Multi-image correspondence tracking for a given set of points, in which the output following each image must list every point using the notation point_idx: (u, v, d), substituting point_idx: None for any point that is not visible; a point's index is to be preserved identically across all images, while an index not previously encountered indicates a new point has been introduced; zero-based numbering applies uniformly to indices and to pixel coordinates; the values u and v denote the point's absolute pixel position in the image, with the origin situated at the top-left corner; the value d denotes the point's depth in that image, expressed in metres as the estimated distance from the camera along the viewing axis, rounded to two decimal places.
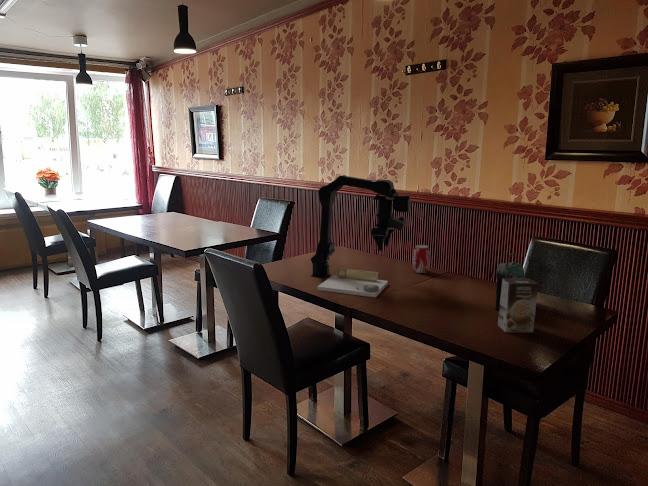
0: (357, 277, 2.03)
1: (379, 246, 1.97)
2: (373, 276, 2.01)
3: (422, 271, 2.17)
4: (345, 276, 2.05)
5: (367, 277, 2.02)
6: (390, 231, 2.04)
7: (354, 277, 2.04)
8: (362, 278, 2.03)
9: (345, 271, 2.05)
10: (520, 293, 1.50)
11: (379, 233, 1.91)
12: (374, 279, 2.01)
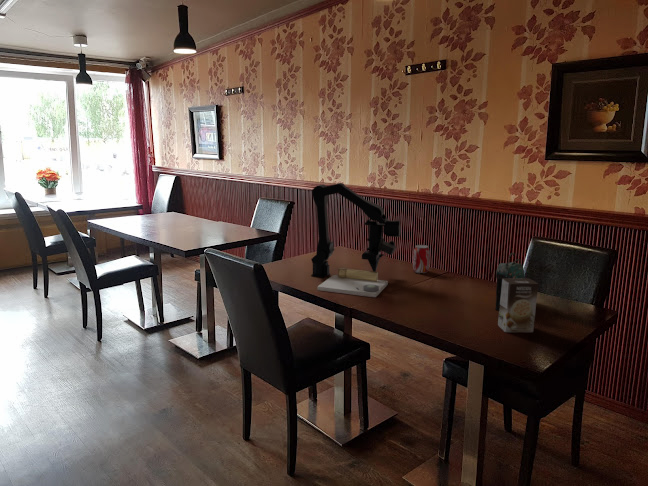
0: (357, 277, 2.03)
1: (373, 267, 2.07)
2: (373, 276, 2.01)
3: (422, 271, 2.17)
4: (345, 276, 2.05)
5: (367, 277, 2.02)
6: (378, 257, 2.07)
7: (354, 277, 2.04)
8: (362, 278, 2.03)
9: (345, 271, 2.05)
10: (520, 293, 1.50)
11: (370, 258, 1.97)
12: (374, 279, 2.01)
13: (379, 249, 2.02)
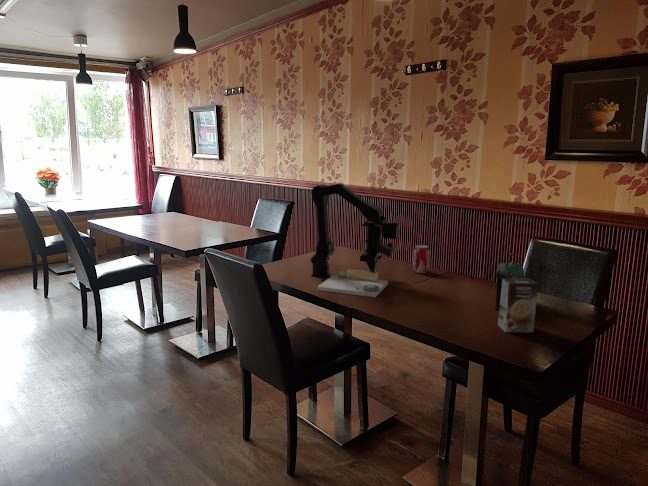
0: (357, 277, 2.03)
1: (371, 269, 2.04)
2: (373, 276, 2.01)
3: (422, 271, 2.17)
4: (345, 276, 2.05)
5: (367, 277, 2.02)
6: (376, 258, 2.04)
7: (354, 277, 2.04)
8: (362, 278, 2.03)
9: (345, 271, 2.05)
10: (520, 293, 1.50)
11: (368, 260, 1.95)
12: (374, 279, 2.01)
13: (377, 251, 2.00)
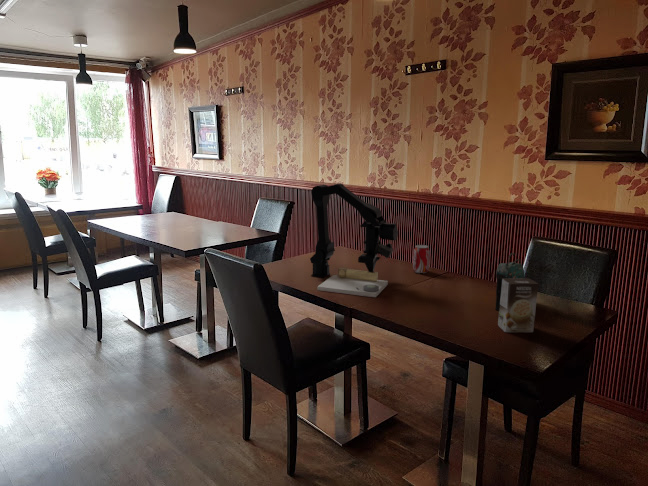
0: (357, 277, 2.03)
1: (370, 270, 2.03)
2: (373, 276, 2.01)
3: (422, 271, 2.17)
4: (345, 276, 2.05)
5: (367, 277, 2.02)
6: (375, 259, 2.02)
7: (354, 277, 2.04)
8: (362, 278, 2.03)
9: (345, 271, 2.05)
10: (520, 293, 1.50)
11: (366, 261, 1.93)
12: (374, 279, 2.01)
13: (376, 252, 1.98)
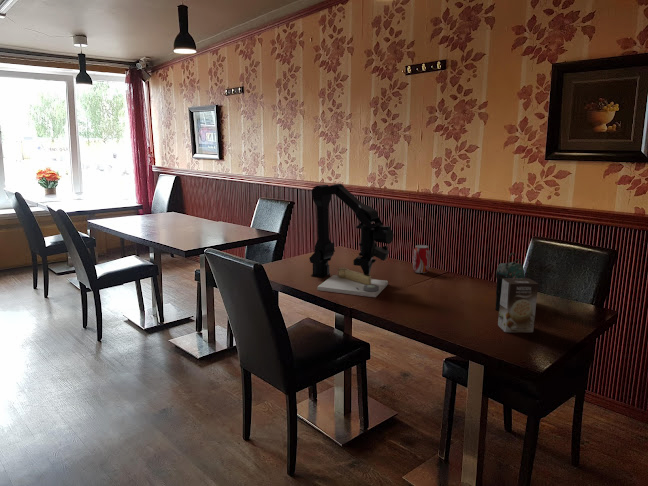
0: (353, 278, 2.01)
1: (365, 273, 1.99)
2: (365, 279, 1.96)
3: (422, 271, 2.17)
4: (343, 276, 2.05)
5: (361, 280, 1.98)
6: (371, 262, 1.98)
7: (350, 278, 2.02)
8: (357, 280, 2.00)
9: (343, 271, 2.04)
10: (520, 293, 1.50)
11: (362, 264, 1.89)
12: (366, 282, 1.96)
13: (372, 254, 1.94)
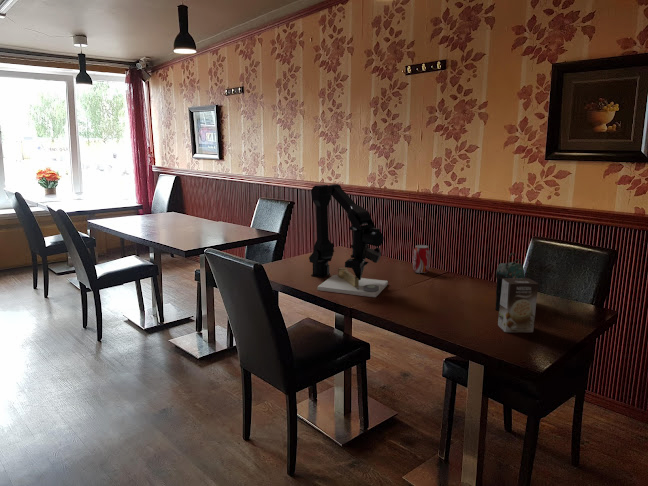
0: (347, 279, 2.00)
1: (357, 275, 1.95)
2: (353, 281, 1.94)
3: (422, 271, 2.17)
4: (341, 276, 2.05)
5: (351, 281, 1.96)
6: (363, 264, 1.95)
7: (345, 279, 2.01)
8: (349, 281, 1.98)
9: (341, 271, 2.04)
10: (520, 293, 1.50)
11: (353, 266, 1.86)
12: (353, 284, 1.93)
13: (363, 256, 1.90)
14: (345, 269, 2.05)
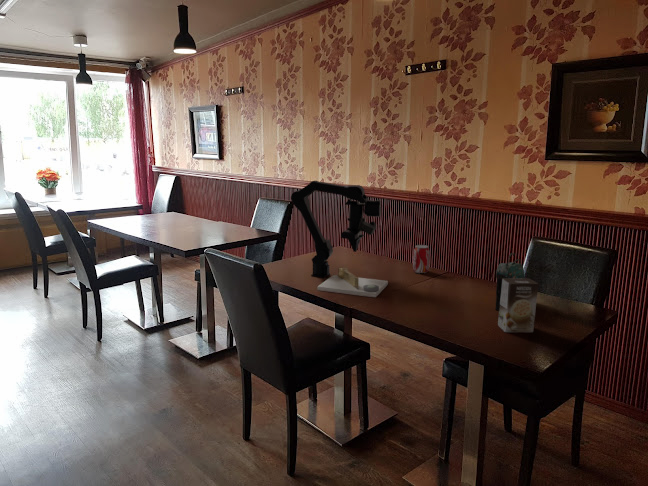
0: (347, 279, 2.00)
1: (353, 247, 2.08)
2: (353, 281, 1.94)
3: (422, 271, 2.17)
4: (341, 276, 2.05)
5: (350, 281, 1.96)
6: (359, 237, 2.08)
7: (345, 279, 2.01)
8: (348, 281, 1.98)
9: (341, 271, 2.04)
10: (520, 293, 1.50)
11: (348, 237, 1.99)
12: (353, 284, 1.93)
13: (359, 229, 2.03)
14: (345, 269, 2.05)
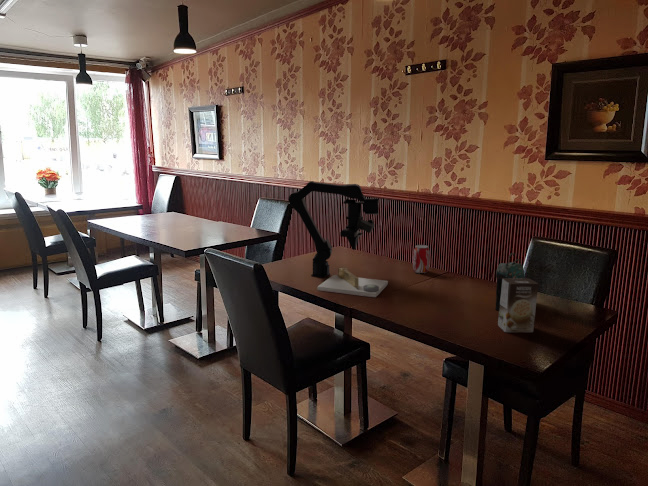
0: (347, 279, 2.00)
1: (352, 245, 2.10)
2: (353, 281, 1.94)
3: (422, 271, 2.17)
4: (341, 276, 2.05)
5: (350, 281, 1.96)
6: (357, 235, 2.10)
7: (345, 279, 2.01)
8: (348, 281, 1.98)
9: (341, 271, 2.04)
10: (520, 293, 1.50)
11: (348, 235, 2.01)
12: (353, 284, 1.93)
13: (358, 227, 2.05)
14: (345, 269, 2.05)
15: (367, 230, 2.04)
